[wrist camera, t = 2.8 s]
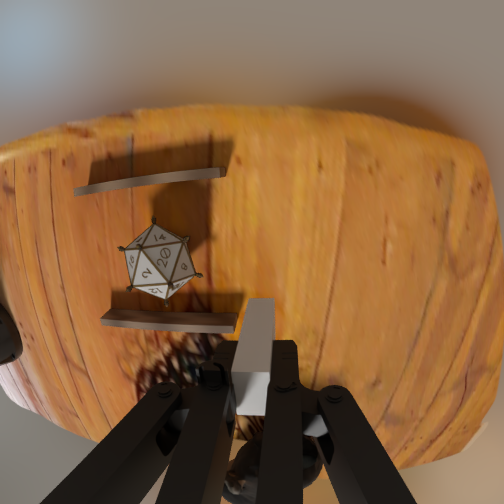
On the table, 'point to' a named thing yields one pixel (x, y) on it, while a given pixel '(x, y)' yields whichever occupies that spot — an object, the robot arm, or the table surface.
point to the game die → (159, 262)
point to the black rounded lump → (247, 470)
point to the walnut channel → (158, 318)
